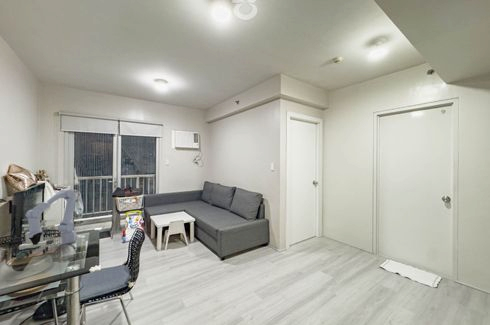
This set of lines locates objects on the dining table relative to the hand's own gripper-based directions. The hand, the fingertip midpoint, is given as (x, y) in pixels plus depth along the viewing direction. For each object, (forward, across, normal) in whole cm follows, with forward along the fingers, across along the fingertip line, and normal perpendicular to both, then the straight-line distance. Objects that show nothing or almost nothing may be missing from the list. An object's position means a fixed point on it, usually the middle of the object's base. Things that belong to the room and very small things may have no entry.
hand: (36, 243), depth 149 cm
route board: (+8, 0, 0) cm, 8 cm away
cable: (+2, 0, 0) cm, 2 cm away
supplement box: (+8, -21, -10) cm, 24 cm away
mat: (+8, -8, 0) cm, 12 cm away
